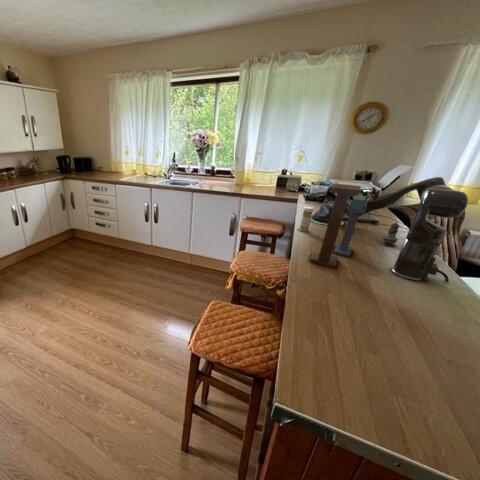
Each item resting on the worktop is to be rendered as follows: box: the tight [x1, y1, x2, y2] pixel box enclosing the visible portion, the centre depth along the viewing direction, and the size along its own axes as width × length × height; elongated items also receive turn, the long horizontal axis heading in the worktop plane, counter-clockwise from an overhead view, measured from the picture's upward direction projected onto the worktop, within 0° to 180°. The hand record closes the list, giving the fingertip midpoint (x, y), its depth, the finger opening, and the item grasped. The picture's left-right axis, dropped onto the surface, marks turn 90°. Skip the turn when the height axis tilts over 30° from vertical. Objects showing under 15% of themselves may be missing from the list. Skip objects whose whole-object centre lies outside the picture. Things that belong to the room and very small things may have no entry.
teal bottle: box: [351, 194, 366, 210], centre depth 112 cm, size 4×19×4 cm, turn 142°
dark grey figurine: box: [380, 221, 400, 248], centre depth 124 cm, size 6×6×12 cm
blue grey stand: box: [333, 200, 367, 258], centre depth 114 cm, size 6×10×23 cm, turn 142°
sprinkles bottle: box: [298, 206, 314, 233], centre depth 141 cm, size 5×5×14 cm
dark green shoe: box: [310, 204, 345, 226], centre depth 160 cm, size 15×19×20 cm
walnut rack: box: [309, 183, 361, 269], centre depth 103 cm, size 9×10×32 cm
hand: (361, 187), depth 117 cm, fingers open, 8 cm apart
